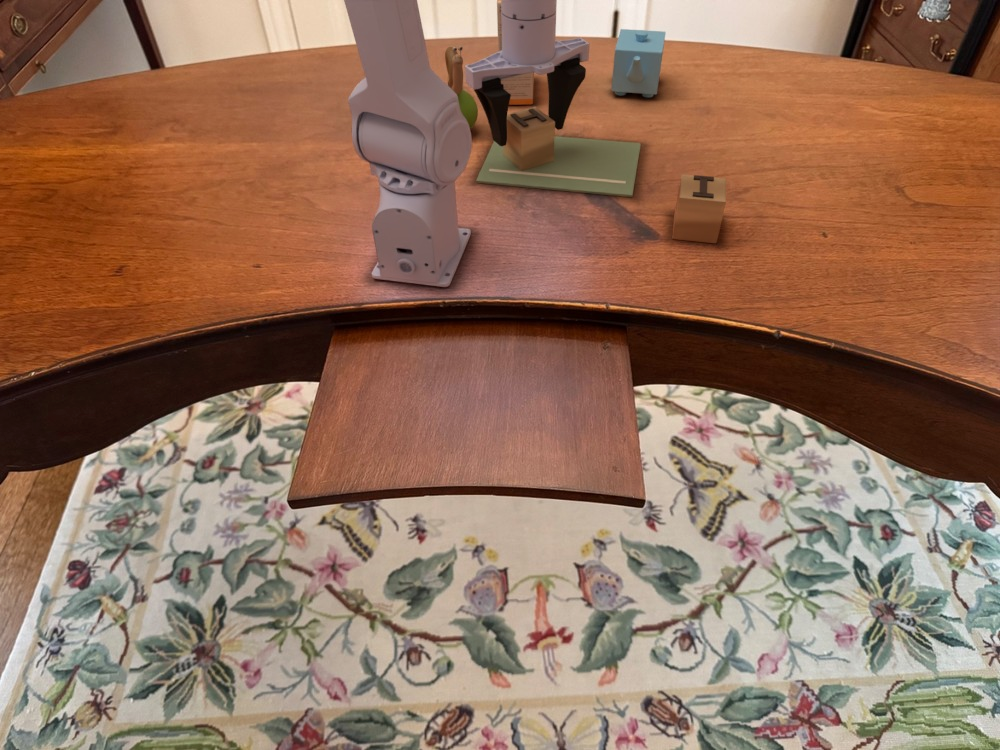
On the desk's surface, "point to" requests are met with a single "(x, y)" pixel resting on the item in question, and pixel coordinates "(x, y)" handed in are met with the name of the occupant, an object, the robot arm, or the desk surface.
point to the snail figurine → (460, 84)
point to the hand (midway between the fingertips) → (528, 134)
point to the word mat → (571, 168)
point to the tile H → (529, 138)
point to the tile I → (699, 208)
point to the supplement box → (516, 85)
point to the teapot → (637, 62)
